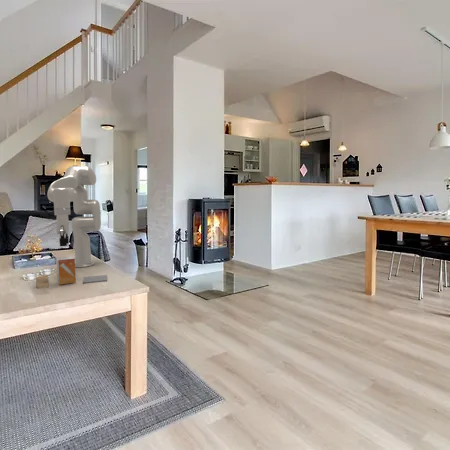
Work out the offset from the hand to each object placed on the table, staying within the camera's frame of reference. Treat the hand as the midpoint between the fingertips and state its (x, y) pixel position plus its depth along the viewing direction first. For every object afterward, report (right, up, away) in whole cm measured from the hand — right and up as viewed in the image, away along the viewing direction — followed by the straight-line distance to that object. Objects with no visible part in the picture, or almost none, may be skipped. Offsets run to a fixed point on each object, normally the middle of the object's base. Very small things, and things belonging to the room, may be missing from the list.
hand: (64, 244), depth 179 cm
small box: (0, -20, +2) cm, 20 cm away
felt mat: (+13, -19, +8) cm, 25 cm away
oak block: (-9, -21, -4) cm, 23 cm away
